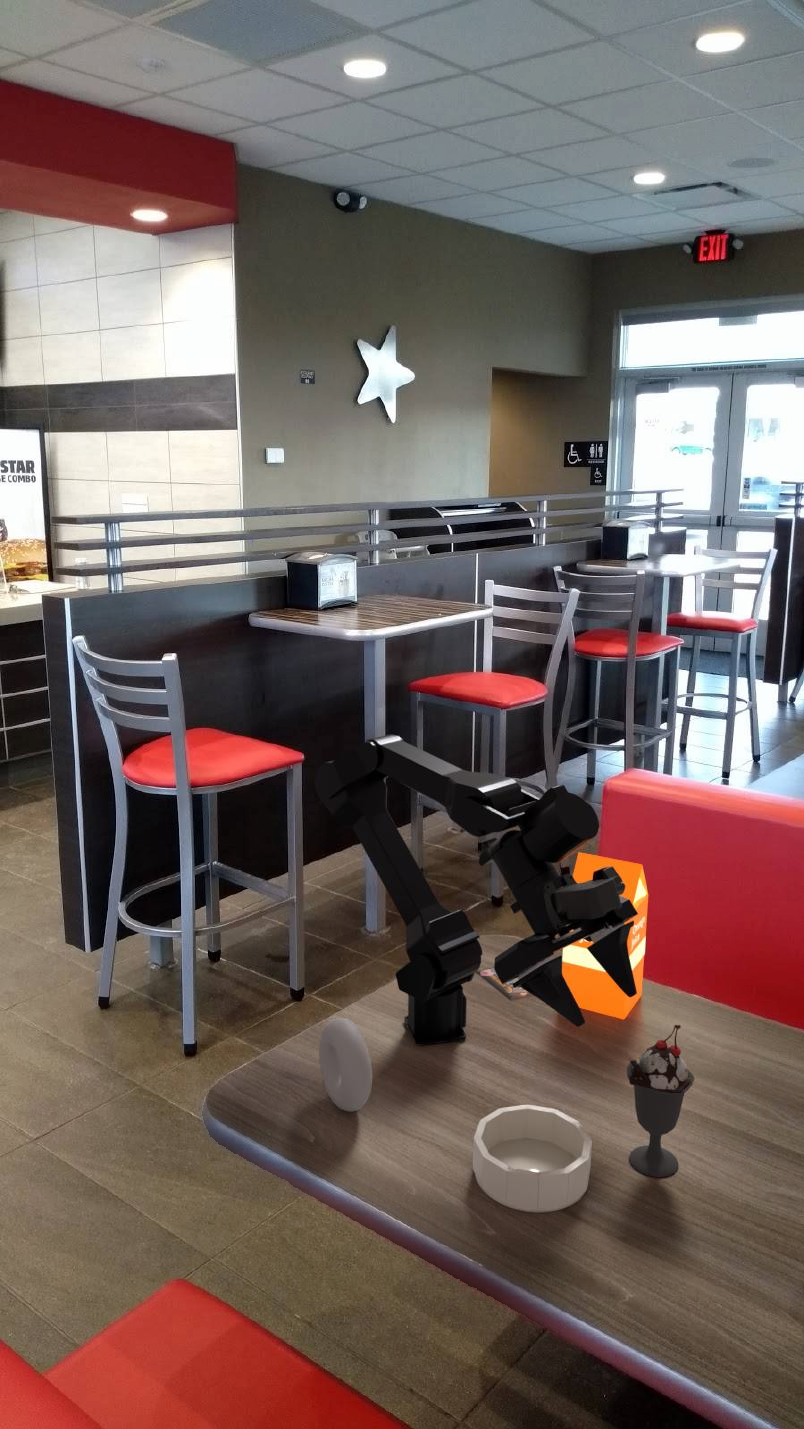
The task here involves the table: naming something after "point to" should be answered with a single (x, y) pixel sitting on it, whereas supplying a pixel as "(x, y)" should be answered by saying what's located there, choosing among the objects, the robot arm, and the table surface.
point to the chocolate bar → (504, 985)
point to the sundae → (658, 1103)
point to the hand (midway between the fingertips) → (608, 1010)
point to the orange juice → (578, 963)
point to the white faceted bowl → (532, 1158)
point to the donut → (345, 1064)
